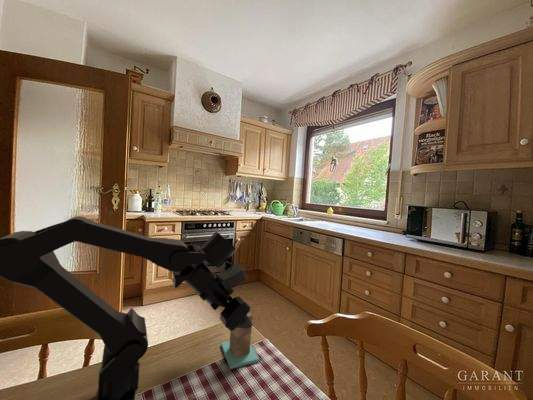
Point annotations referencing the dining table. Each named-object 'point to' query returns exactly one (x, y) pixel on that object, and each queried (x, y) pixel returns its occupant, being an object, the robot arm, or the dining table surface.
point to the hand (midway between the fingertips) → (242, 317)
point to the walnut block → (241, 340)
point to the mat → (240, 360)
